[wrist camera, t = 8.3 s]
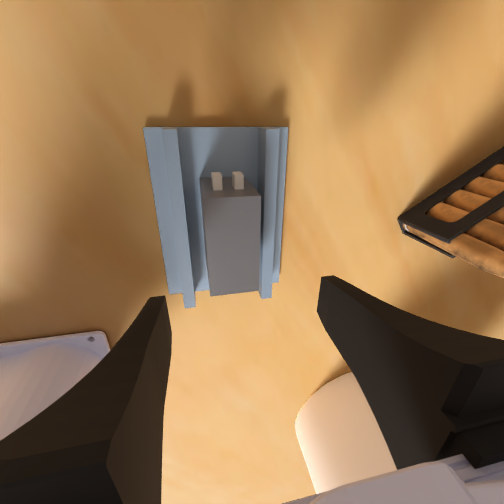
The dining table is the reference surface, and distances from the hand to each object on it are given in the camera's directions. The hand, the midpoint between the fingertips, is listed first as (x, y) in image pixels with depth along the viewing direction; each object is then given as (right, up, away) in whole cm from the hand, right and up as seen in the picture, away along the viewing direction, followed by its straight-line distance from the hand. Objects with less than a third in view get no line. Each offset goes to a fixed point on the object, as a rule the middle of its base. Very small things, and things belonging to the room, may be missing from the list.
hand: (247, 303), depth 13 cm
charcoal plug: (-2, +5, +7) cm, 9 cm away
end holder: (-2, +5, +8) cm, 9 cm away
